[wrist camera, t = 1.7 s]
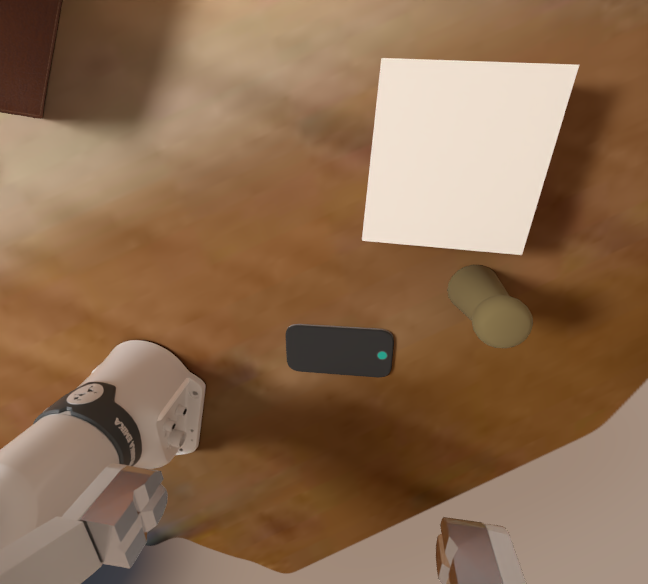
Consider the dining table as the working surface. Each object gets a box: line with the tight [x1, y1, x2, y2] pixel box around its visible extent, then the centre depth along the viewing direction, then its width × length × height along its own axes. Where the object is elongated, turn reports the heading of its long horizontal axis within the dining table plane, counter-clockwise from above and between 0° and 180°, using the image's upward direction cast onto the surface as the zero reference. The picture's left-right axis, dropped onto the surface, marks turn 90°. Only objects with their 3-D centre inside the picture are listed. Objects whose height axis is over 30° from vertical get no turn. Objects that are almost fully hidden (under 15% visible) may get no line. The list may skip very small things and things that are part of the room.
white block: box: [362, 58, 579, 255], centre depth 33 cm, size 16×16×6 cm
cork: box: [447, 265, 533, 348], centre depth 35 cm, size 6×6×11 cm
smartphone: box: [286, 324, 394, 377], centre depth 45 cm, size 8×1×15 cm
